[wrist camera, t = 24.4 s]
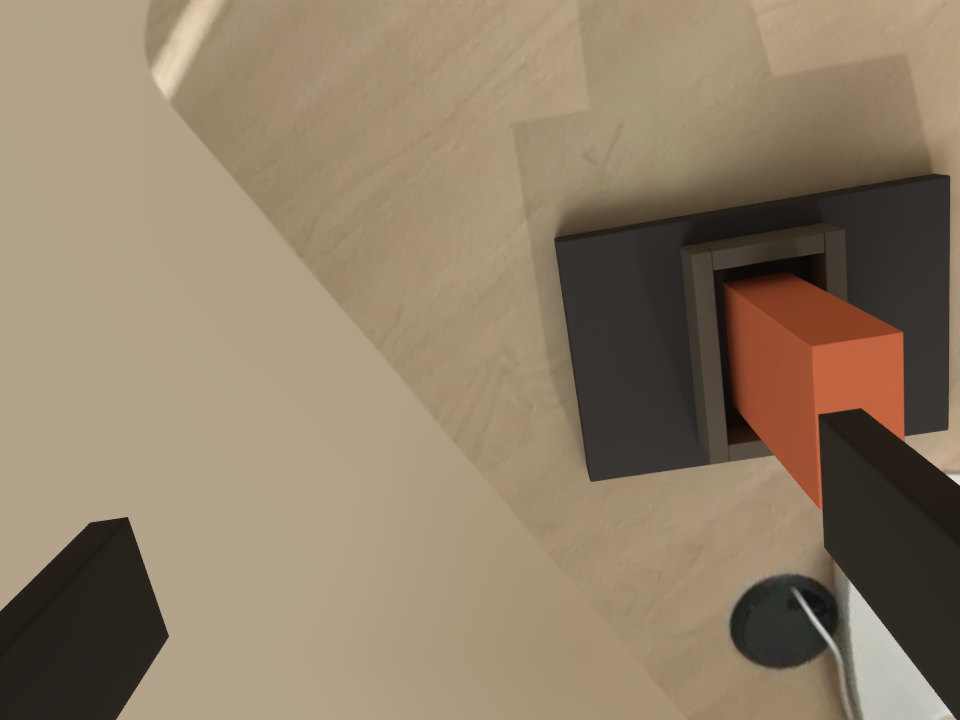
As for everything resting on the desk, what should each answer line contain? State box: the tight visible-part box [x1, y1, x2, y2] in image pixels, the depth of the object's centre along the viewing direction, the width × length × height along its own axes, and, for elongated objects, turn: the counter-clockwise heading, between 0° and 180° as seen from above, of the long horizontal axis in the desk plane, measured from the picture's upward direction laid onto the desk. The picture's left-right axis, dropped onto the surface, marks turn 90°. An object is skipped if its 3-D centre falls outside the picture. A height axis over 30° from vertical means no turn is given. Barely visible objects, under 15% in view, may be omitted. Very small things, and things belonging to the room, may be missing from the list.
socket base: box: [554, 174, 950, 482], centre depth 41 cm, size 20×14×4 cm
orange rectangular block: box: [723, 272, 904, 509], centre depth 36 cm, size 3×7×12 cm, turn 10°
